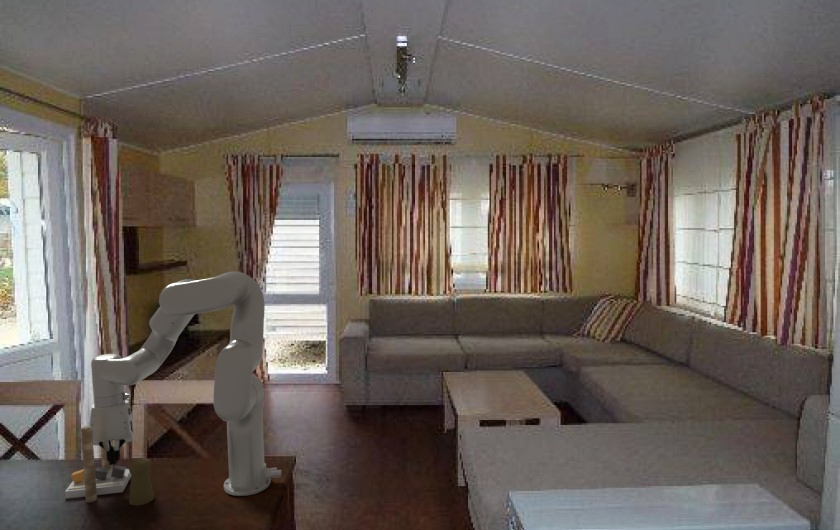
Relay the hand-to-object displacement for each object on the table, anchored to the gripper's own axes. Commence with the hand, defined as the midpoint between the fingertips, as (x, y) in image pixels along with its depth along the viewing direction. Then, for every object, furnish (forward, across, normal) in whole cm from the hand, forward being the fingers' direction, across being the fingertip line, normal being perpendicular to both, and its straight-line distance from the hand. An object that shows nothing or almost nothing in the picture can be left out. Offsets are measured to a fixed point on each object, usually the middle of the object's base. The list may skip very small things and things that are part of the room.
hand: (114, 462), depth 159 cm
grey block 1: (+4, +4, 0) cm, 6 cm away
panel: (+6, +4, 0) cm, 8 cm away
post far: (+6, +4, -8) cm, 11 cm away
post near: (+6, +4, +8) cm, 11 cm away
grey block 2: (+4, -1, 0) cm, 5 cm away
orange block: (+4, +8, 0) cm, 10 cm away
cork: (+7, -9, +10) cm, 15 cm away
